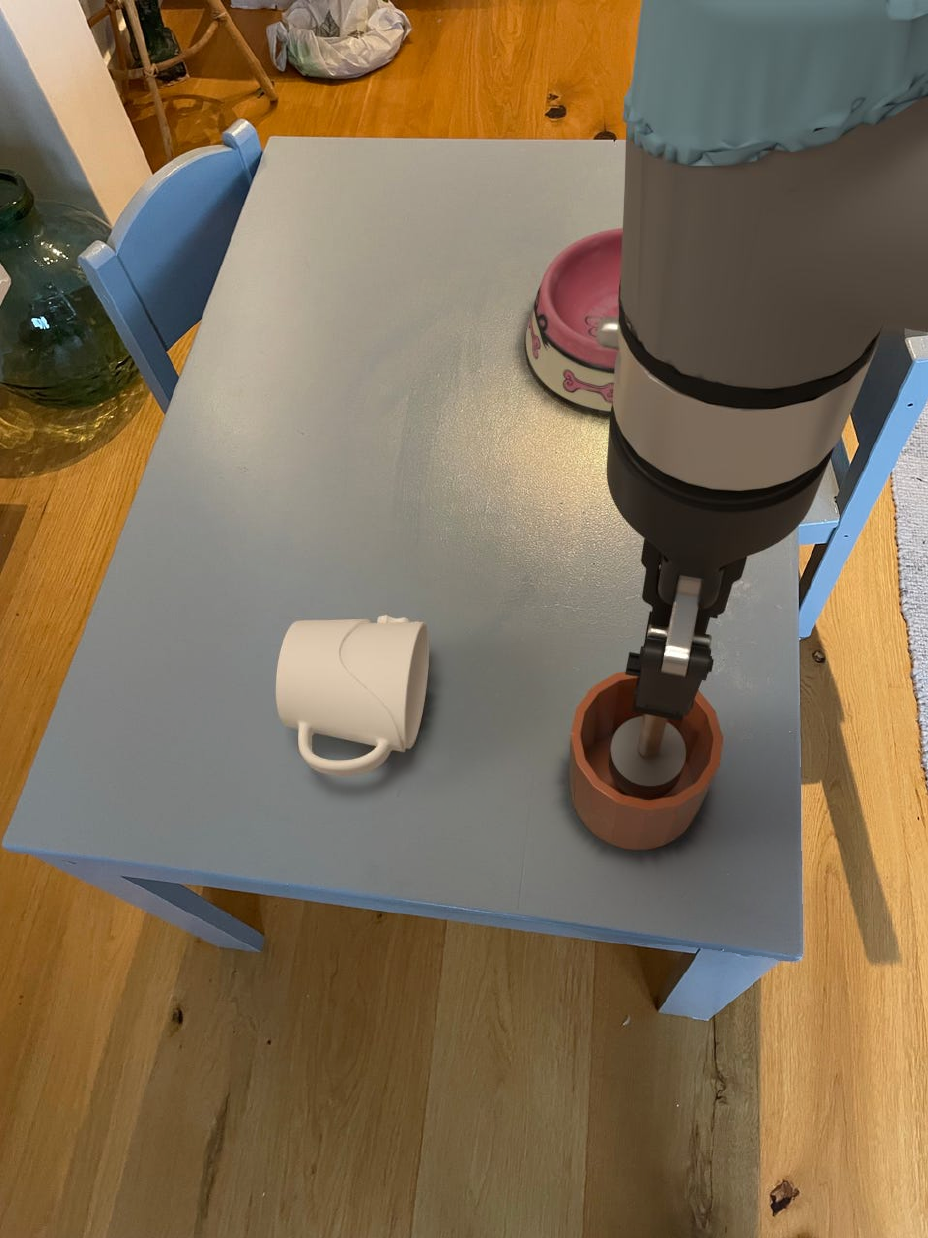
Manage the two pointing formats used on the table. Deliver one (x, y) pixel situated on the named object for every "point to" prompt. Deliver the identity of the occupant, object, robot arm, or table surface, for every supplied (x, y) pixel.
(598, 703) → the crock
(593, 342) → the dog bowl
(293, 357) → the table surface
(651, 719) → the toilet plunger
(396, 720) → the mug
